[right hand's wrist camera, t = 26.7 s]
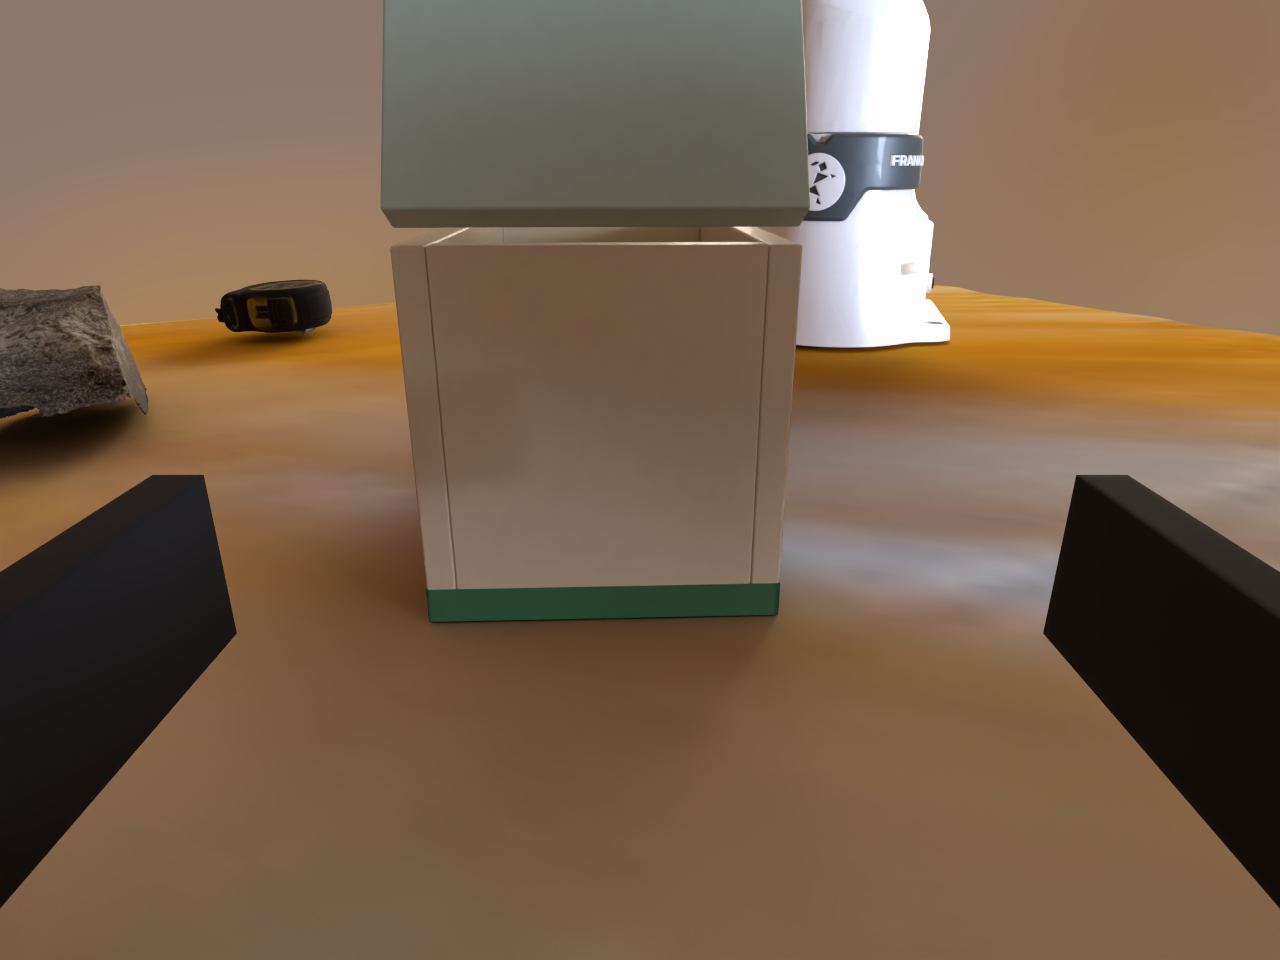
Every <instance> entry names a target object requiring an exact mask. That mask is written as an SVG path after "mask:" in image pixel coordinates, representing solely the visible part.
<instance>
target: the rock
mask: <svg viewBox="0 0 1280 960" xmlns="http://www.w3.org/2000/svg"><path fill="white" fill-rule="evenodd" d="M146 390H147V389H146V388H145V386H144V384H143V382H142V380H141V377H140V374H139V371H138V369H137V366H136V364H135V361H134V359H133V356H132V354H131V351H130V349H129V347H128V345H127V342H126V340H125V337H124V335H123V333H122V331H121V329H120V327H119V325H118V323H117V321H116V319H115V318H114V316H113V314H112V312H111V310H110V309H109V308H108V305H107V303H106V301H105V298H104V297H103V295H102V293H101V291H100V286H99V285H98V286H83V287H80V288H77V289H67V290H59V289H52V290H39V291H34V290H27V289H18V290H4V289H0V418H5V417H6V416H7V417H9V416H12V415H16V414H17V413H20V412H26V411H29V410H32V409H34V408H35V407H36V408H38V409H40V410H39V412H41V413H40V414H36V415H33V417H35V418H38V417H44V416H46V417H48V416H53V415H55V414H56V413H68V412H69V411H70V410H76V409H77V408H81V407H90V405H92V406H93V405H94V403H98V404H104V403H110V404H112V403H120V402H122V401H123V400H124V399H125V397H129V398H132V399H135V400H136V402H137V404H138V406H139V407H140V409H141V410H142V412H143V413H144V414H146V412H148V407H147V406H148V404H147V403H148V401H147V399H148V398H147V395H146Z"/></svg>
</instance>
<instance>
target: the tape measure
mask: <svg viewBox="0 0 1280 960" xmlns="http://www.w3.org/2000/svg"><path fill="white" fill-rule="evenodd" d="M220 306H221V308H220V309H217V308H216V309H215V310H216V312H217V313H218V316H217V318H218V320H219V322H224V323H225V324H226V327H227V328H228V329H230V330H231V331H233V332H243V331H258V332H266V333H267V332H268V333H279V332H293V333H298V334H306V333H308V332H310V331H312V330H314V329H315V327H319V326H322V325H325V324H326V323H328V322H329V321H330V319H331V314H332V306H331V300H330V295H329V291H328V290H327V287H326V285H325V284H324V283H323V282H321V281H317V280H290V281H278V282H268V283H262V284H257V285H252V286H248V287H245V288H242V289H240V290H236V291H233V292H229V293H227V294H225V295H224V296H223V297H222V299H221V305H220Z"/></svg>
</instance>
